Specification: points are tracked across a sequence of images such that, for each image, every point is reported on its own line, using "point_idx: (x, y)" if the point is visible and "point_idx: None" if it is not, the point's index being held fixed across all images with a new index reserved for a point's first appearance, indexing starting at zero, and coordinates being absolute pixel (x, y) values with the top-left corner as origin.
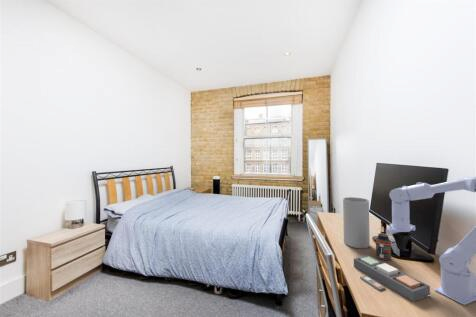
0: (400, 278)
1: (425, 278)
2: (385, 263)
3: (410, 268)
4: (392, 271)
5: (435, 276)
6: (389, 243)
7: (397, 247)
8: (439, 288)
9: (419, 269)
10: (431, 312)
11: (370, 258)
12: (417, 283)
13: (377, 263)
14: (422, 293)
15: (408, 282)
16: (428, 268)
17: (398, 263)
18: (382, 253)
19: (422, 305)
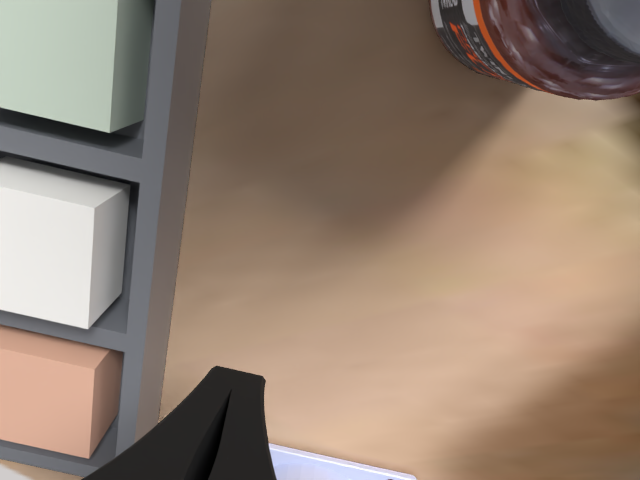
0: (3, 366)
1: (375, 369)
2: (88, 212)
3: (466, 257)
4: (12, 308)
5: (475, 400)
6: (563, 96)
7: (206, 377)
8: (280, 458)
9: (510, 305)
10: (5, 466)
11: (93, 17)
12: (57, 451)
13: (81, 123)
14: None
15: (7, 414)
16: (595, 341)
17: (490, 155)
18: (443, 12)
19: None
